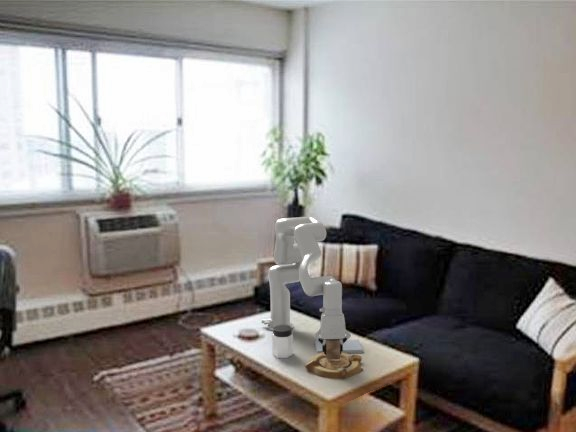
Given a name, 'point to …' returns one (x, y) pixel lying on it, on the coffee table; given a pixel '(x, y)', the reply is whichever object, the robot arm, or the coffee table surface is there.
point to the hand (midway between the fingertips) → (332, 352)
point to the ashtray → (335, 366)
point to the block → (333, 349)
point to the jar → (282, 341)
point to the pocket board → (344, 347)
